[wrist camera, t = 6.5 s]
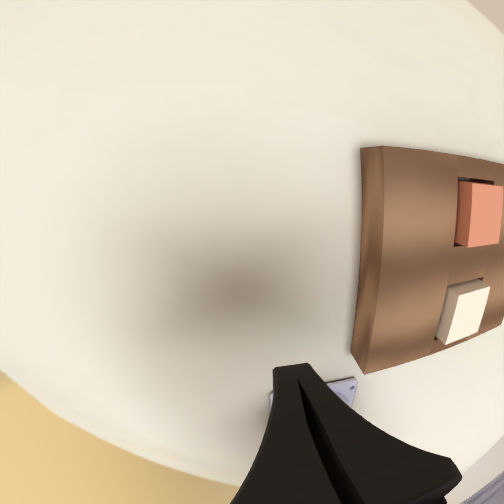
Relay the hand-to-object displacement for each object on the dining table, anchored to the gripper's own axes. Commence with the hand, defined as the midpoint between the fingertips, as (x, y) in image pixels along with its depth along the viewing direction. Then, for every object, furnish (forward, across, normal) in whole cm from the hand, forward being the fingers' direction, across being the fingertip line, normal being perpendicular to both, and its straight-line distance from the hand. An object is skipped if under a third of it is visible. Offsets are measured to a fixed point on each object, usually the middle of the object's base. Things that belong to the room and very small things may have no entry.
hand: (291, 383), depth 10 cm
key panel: (+9, -16, -1) cm, 19 cm away
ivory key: (+9, -16, +3) cm, 18 cm away
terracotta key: (+9, -16, -5) cm, 19 cm away
